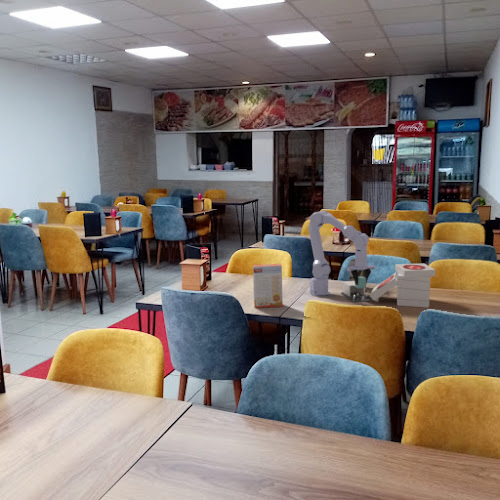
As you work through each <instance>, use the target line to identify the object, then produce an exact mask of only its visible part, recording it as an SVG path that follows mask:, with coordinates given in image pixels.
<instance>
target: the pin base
mask: <svg viewBox="0 0 500 500" xmlns="http://www.w3.org/2000/svg"><path fill="white" fill-rule="evenodd" d="M340 294H341V295H343V296H344V297H345V298H347V299H349V300H350V301H351V302H353V303H361V302H362V303H363V302H373V301H374V300H373V299H372V298H371V297H370V295H368V294H367V293H365V296H363V295H362V294H360V293H358V292H351V293H350V297H349V296H348V295H346V294H345V293H343V291H341V292H340Z"/></svg>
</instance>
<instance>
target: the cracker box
mask: <svg viewBox="0 0 500 500" xmlns="http://www.w3.org/2000/svg"><path fill="white" fill-rule="evenodd" d="M252 275H253V277H252V279H253V282H252V283H253V305H254V308H255V309H257V308H259V309H260V308H261V309H262V308H282V307H283V306H284V305H283V300H284V299H283V266H282V264H281V263H263V264H262V263H261V264H253V265H252Z"/></svg>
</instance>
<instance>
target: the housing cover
mask: <svg viewBox="0 0 500 500" xmlns="http://www.w3.org/2000/svg"><path fill="white" fill-rule="evenodd" d="M342 292H343V293H345V294H346V295H348V296H349V297H350V293H351V292H358V293H360V294H362V295H363V296H365V294H366V288H357V287H355V281H349V280H346V281H342Z"/></svg>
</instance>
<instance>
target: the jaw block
mask: <svg viewBox="0 0 500 500" xmlns="http://www.w3.org/2000/svg"><path fill="white" fill-rule="evenodd" d="M355 287H357V288H365V289H366V288H367V283H366V278H365V277H363V276H362V277H358V285H356V284H355Z"/></svg>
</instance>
